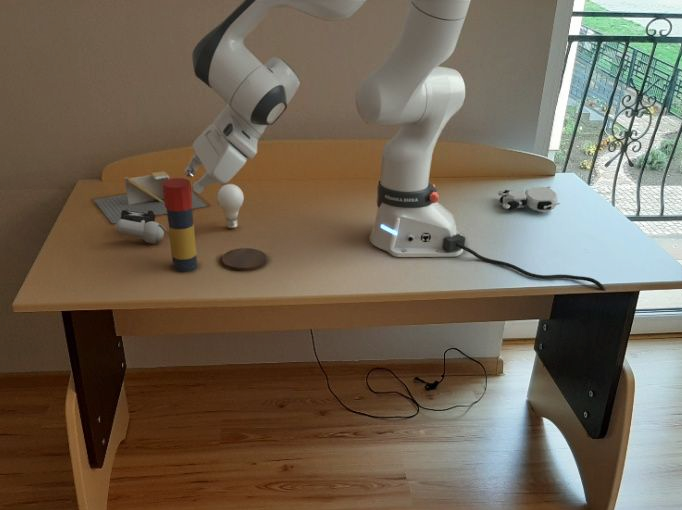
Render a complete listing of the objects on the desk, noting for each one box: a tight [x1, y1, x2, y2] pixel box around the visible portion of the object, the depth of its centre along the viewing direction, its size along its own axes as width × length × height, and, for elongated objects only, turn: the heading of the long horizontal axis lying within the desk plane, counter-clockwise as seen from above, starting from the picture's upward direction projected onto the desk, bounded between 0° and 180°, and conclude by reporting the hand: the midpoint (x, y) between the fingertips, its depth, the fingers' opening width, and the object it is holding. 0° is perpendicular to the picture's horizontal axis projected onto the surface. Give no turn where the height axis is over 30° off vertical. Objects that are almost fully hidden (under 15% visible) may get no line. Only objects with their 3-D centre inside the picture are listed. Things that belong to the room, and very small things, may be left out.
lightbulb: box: [216, 183, 245, 230], centre depth 166 cm, size 6×6×11 cm
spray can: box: [166, 207, 198, 273], centre depth 147 cm, size 5×5×16 cm
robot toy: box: [497, 185, 561, 213], centre depth 184 cm, size 12×4×15 cm
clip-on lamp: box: [115, 210, 169, 245], centre depth 162 cm, size 12×6×18 cm
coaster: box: [221, 247, 268, 272], centre depth 154 cm, size 10×10×1 cm
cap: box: [163, 177, 193, 211], centre depth 142 cm, size 6×6×5 cm
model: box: [124, 170, 171, 205], centre depth 179 cm, size 3×11×8 cm, turn 121°
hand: (190, 182), depth 141 cm, fingers open, 8 cm apart
